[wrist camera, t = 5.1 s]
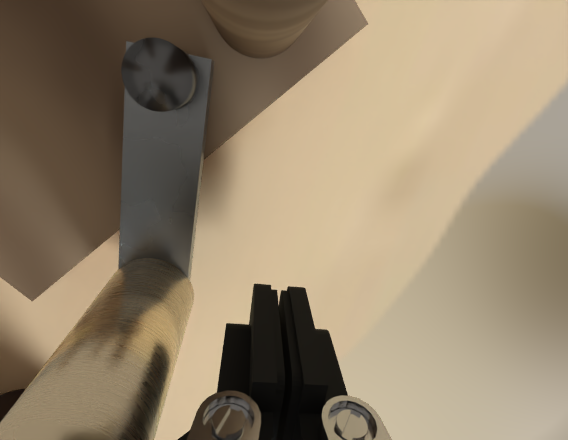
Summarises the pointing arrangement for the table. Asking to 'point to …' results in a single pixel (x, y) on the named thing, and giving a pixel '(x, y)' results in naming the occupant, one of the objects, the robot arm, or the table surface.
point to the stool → (110, 104)
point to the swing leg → (134, 266)
